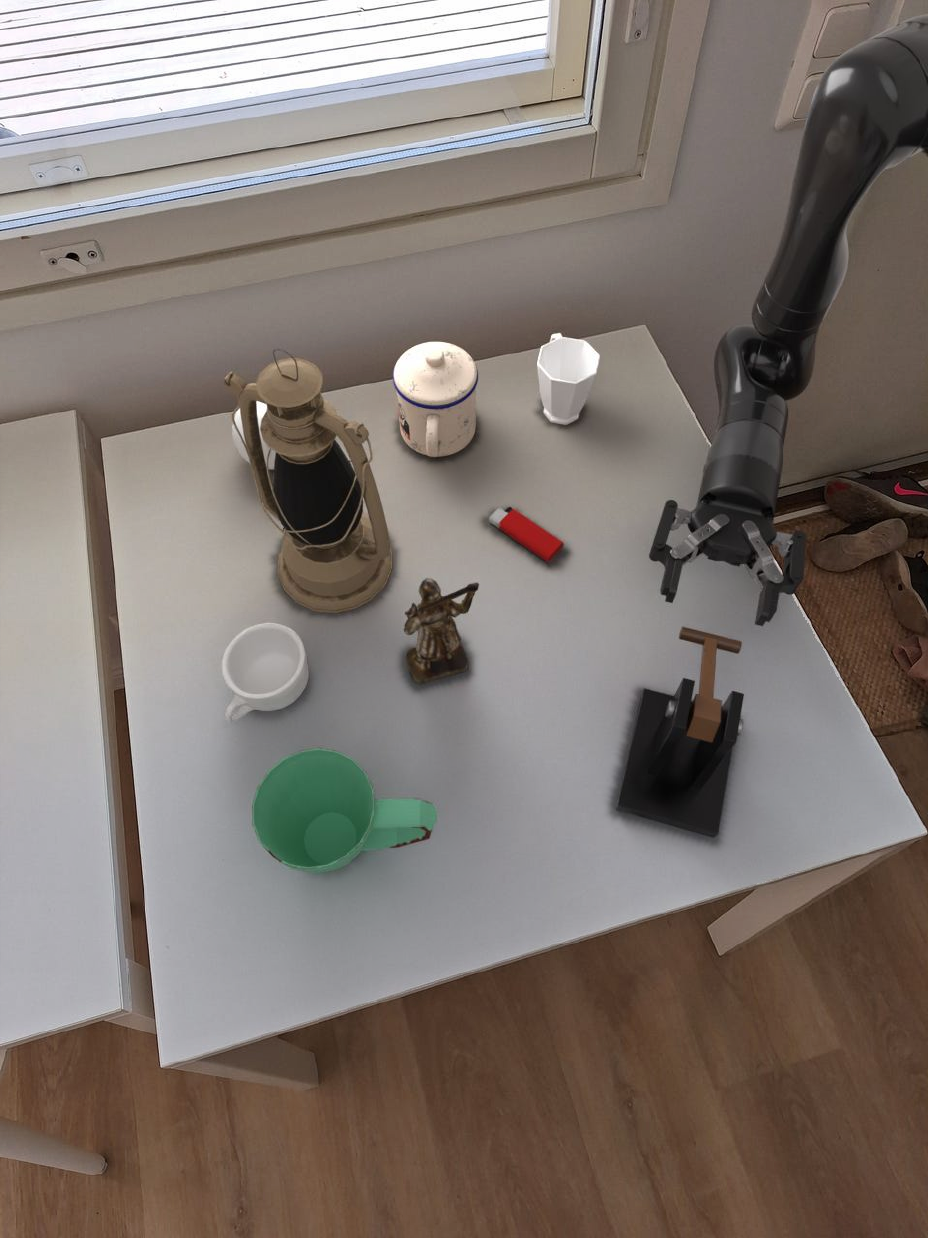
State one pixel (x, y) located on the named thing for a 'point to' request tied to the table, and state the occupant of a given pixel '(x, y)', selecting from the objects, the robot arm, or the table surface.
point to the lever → (706, 684)
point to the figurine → (437, 632)
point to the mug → (331, 813)
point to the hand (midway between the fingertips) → (715, 610)
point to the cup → (565, 377)
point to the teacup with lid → (436, 398)
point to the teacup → (264, 669)
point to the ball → (240, 447)
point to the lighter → (526, 533)
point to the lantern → (315, 488)
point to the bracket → (678, 762)
